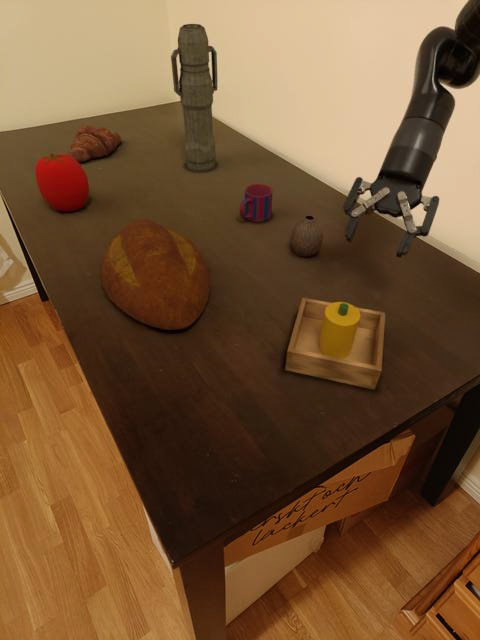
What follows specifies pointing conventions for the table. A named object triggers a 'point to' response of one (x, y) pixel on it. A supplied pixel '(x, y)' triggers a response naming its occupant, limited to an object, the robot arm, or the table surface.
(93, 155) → the pastry
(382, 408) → the table surface
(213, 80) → the grey stone totem
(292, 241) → the vase
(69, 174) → the red rounded lump
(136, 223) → the bread
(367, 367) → the tray
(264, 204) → the mug
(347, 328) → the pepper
